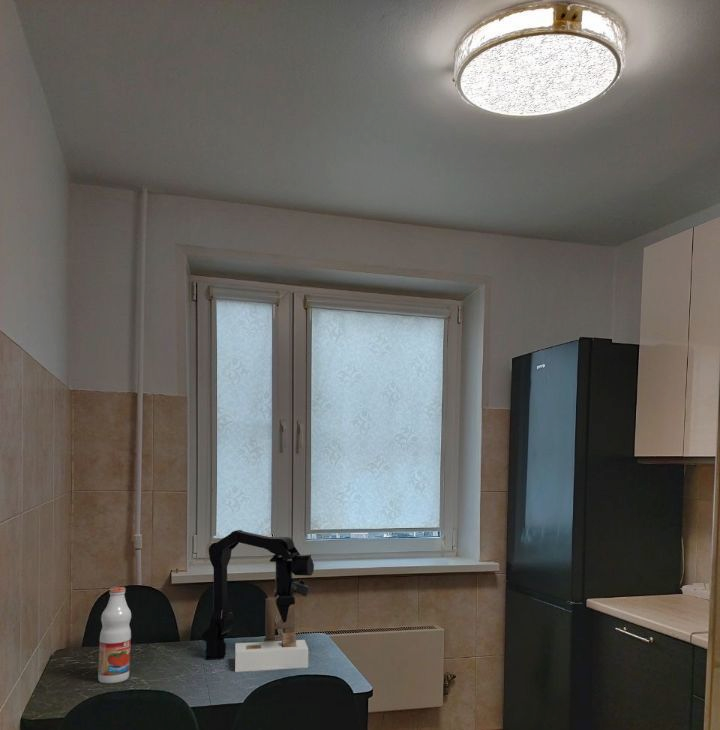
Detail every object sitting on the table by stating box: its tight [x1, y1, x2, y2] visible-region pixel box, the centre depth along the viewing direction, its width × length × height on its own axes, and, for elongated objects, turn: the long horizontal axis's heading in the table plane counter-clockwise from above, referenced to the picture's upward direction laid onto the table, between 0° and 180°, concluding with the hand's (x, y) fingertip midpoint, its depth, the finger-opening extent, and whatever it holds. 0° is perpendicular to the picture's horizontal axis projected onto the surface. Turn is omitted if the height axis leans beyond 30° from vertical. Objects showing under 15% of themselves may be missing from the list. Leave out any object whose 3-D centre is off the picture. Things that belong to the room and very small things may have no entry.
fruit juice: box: [97, 586, 132, 684], centre depth 216 cm, size 9×9×28 cm
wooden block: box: [263, 597, 295, 642], centre depth 251 cm, size 4×11×18 cm, turn 111°
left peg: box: [247, 645, 260, 649], centre depth 229 cm, size 4×4×5 cm
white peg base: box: [234, 639, 309, 673], centre depth 230 cm, size 24×12×6 cm, turn 101°
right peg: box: [281, 631, 297, 647], centre depth 231 cm, size 4×4×5 cm
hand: (284, 622), depth 232 cm, fingers closed
